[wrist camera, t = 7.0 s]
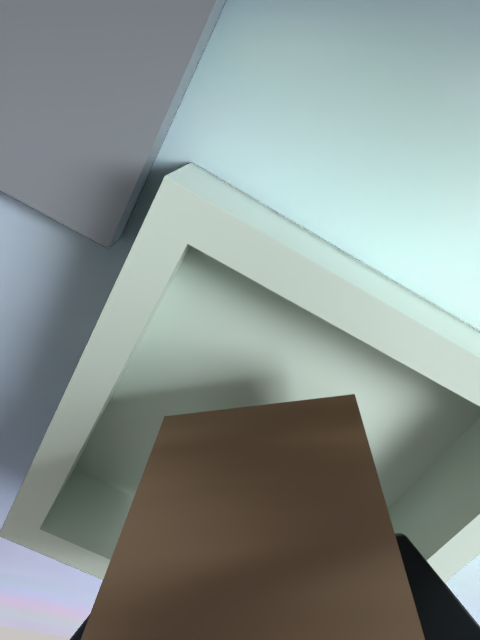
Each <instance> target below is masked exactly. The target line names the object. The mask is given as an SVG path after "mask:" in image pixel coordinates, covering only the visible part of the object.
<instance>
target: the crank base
mask: <svg viewBox="0 0 480 640" xmlns="http://www.w3.org/2000/svg"><path fill="white" fill-rule="evenodd" d="M225 2H226V0H0V191H2V192H4V193H6V194H8V195H9V196H11V197H13V198H15V199H17V200H19V201H20V202H22V203H24V204H26V205H28V206H30V207H32V208H33V209H35V210H37V211H39V212H41V213H43V214H45V215H46V216H48V217H50V218H52V219H54V220H56V221H57V222H59V223H61V224H63V225H65V226H67V227H69V228H70V229H72V230H74V231H76V232H78V233H80V234H82V235H83V236H85V237H87V238H89V239H91V240H93V241H95V242H96V243H98V244H100V245H102V246H104V247H106V248H107V249H108V248H109V247H110V246H111V245H113V244H114V243H115V242H117V241H118V240H119V239H120V237H121V235H122V233H123V230H124V228H125V226H126V224H127V221H128V219H129V217H130V215H131V213H132V210H133V208H134V206H135V204H136V201H137V199H138V197H139V195H140V192H141V190H142V188H143V186H144V183H145V181H146V179H147V177H148V174H149V172H150V170H151V168H152V165H153V163H154V161H155V159H156V157H157V154H158V152H159V150H160V148H161V145H162V143H163V141H164V139H165V136H166V134H167V132H168V130H169V127H170V125H171V123H172V121H173V118H174V116H175V114H176V112H177V110H178V107H179V105H180V103H181V101H182V98H183V96H184V94H185V92H186V89H187V87H188V85H189V83H190V80H191V78H192V76H193V74H194V71H195V69H196V67H197V65H198V62H199V60H200V58H201V56H202V54H203V51H204V49H205V47H206V45H207V42H208V40H209V38H210V36H211V33H212V31H213V29H214V27H215V24H216V22H217V20H218V18H219V15H220V13H221V11H222V9H223V7H224V4H225Z"/></svg>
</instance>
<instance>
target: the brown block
mask: <svg viewBox="0 0 480 640" xmlns="http://www.w3.org/2000/svg"><path fill="white" fill-rule="evenodd" d="M81 640H425V638H424V634H423V631H422V627H421V624H420V620H419V617H418V613H417V610H416V606H415V603H414V599H413V596H412V592H411V589H410V585H409V582H408V578H407V575H406V571H405V568H404V564H403V561H402V557H401V554H400V550H399V547H398V543H397V540H396V536H395V533H394V530H393V526H392V523H391V519H390V516H389V512H388V509H387V505H386V502H385V498H384V495H383V491H382V488H381V484H380V481H379V477H378V474H377V470H376V467H375V463H374V460H373V456H372V453H371V449H370V446H369V442H368V439H367V435H366V432H365V428H364V425H363V421H362V418H361V414H360V411H359V407H358V404H357V400H356V397H355V394H351V395H342V396H334V397H325V398H316V399H308V400H299V401H291V402H282V403H274V404H265V405H257V406H248V407H240V408H231V409H222V410H214V411H205V412H197V413H188V414H180V415H171V416H164V419H163V422H162V424H161V427H160V430H159V432H158V435H157V438H156V440H155V443H154V446H153V448H152V451H151V454H150V456H149V459H148V462H147V464H146V467H145V470H144V472H143V475H142V478H141V480H140V483H139V486H138V488H137V491H136V494H135V496H134V499H133V502H132V504H131V507H130V510H129V512H128V515H127V518H126V520H125V523H124V526H123V528H122V531H121V534H120V536H119V539H118V542H117V544H116V547H115V550H114V552H113V555H112V558H111V560H110V563H109V566H108V568H107V571H106V574H105V576H104V579H103V582H102V584H101V587H100V590H99V592H98V595H97V598H96V600H95V603H94V606H93V608H92V611H91V614H90V616H89V619H88V622H87V624H86V627H85V630H84V632H83V635H82V638H81Z"/></svg>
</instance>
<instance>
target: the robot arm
mask: <svg viewBox="0 0 480 640" xmlns="http://www.w3.org/2000/svg"><path fill="white" fill-rule="evenodd" d="M395 536H396V540H397V543H398V547H399V550H400V554H401V557H402V561H403V564H404V568H405V571H406V575H407V578H408V582H409V585H410V589H411V592H412V596H413V599H414V603H415V606H416V610H417V613H418V617H419V620H420V624H421V627H422V631H423V634H424V638H425V640H480V626H479V625H478V624H477V622H476V621H475V620H474V619H473V617H472V616H471V615H470V614H469V612H468V611H467V610H466V609H465V607H464V606H463V605H462V604H461V603H460V601H459V600H458V599H457V598H456V596H455V595H454V594H453V593H452V591H451V590H450V589H449V588H448V587H447V585H446V584H445V583H444V582H443V580H442V579H441V578H440V577H439V575H438V574H437V573H436V572H435V570H434V569H433V568H432V567H431V566H430V564H429V563H428V562H427V561H426V559H425V558H424V557H423V556H422V554H421V553H420V552H419V551H418V550H417V548H416V547H415V546H414V545H413V543H412V542H411V541H410V540H409V538H408V537H407V536H406V535H405V534H403V533H395ZM90 614H91V613H90ZM89 616H90V615H89ZM89 616H88V617H87V619H86V620H85V621H84V622H83V624H82V625H81V626H80V627H79V629H78V630H77V631H76V632H75V634H74V635H73V636H72V638H71V639H70V640H81V638H82V635H83V632H84V630H85V627H86V624H87V622H88V619H89Z"/></svg>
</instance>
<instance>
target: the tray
mask: <svg viewBox="0 0 480 640" xmlns="http://www.w3.org/2000/svg"><path fill="white" fill-rule="evenodd" d="M351 394H355V397H356V400H357V404H358V407H359V411H360V414H361V418H362V421H363V425H364V428H365V432H366V435H367V439H368V442H369V446H370V449H371V453H372V456H373V460H374V463H375V467H376V470H377V474H378V477H379V481H380V484H381V488H382V491H383V495H384V498H385V502H386V505H387V509H388V512H389V516H390V519H391V523H392V526H393V530H394V533H403V534H405V535H406V536H407V537H408V538H409V540H410V541H411V542H412V543H413V545H414V546H415V547H416V548H417V550H418V551H419V552H420V553H421V554H422V556H423V557H424V558H425V559H426V561H427V562H428V563H429V564H430V566H431V567H432V568H433V569H434V570H435V572H436V573H437V574H438V575H439V577H440V578H441V579H442V580H443V582H444V583H445V582H446V581H448V580H449V579H450V578H451V577H452V576H454V575H455V574H456V573H457V572H458V571H460V570H461V569H462V568H463V567H464V566H466V565H467V564H468V563H469V562H470V561H472V560H473V559H474V558H475V557H477V556H478V555H479V554H480V331H478V330H476V329H475V328H473V327H471V326H470V325H468V324H466V323H465V322H463V321H461V320H459V319H458V318H456V317H454V316H453V315H451V314H449V313H448V312H446V311H444V310H442V309H441V308H439V307H437V306H436V305H434V304H432V303H431V302H429V301H427V300H425V299H424V298H422V297H420V296H419V295H417V294H415V293H413V292H412V291H410V290H408V289H407V288H405V287H403V286H402V285H400V284H398V283H396V282H395V281H393V280H391V279H390V278H388V277H386V276H385V275H383V274H381V273H379V272H378V271H376V270H374V269H373V268H371V267H369V266H368V265H366V264H364V263H362V262H361V261H359V260H357V259H356V258H354V257H352V256H351V255H349V254H347V253H345V252H344V251H342V250H340V249H339V248H337V247H335V246H333V245H332V244H330V243H328V242H327V241H325V240H323V239H322V238H320V237H318V236H316V235H315V234H313V233H311V232H310V231H308V230H306V229H305V228H303V227H301V226H299V225H298V224H296V223H294V222H293V221H291V220H289V219H288V218H286V217H284V216H282V215H281V214H279V213H277V212H276V211H274V210H272V209H270V208H269V207H267V206H265V205H264V204H262V203H260V202H259V201H257V200H255V199H253V198H252V197H250V196H248V195H247V194H245V193H243V192H242V191H240V190H238V189H236V188H235V187H233V186H231V185H230V184H228V183H226V182H225V181H223V180H221V179H219V178H218V177H216V176H214V175H213V174H211V173H209V172H208V171H206V170H204V169H202V168H201V167H199V166H197V165H196V164H194V163H192V162H191V163H189V164H187V165H185V166H183V167H181V168H179V169H177V170H175V171H173V172H171V173H169V174H168V175H166V176H165V177H164V179H163V181H162V183H161V185H160V187H159V190H158V192H157V194H156V196H155V198H154V200H153V203H152V205H151V207H150V209H149V211H148V213H147V215H146V218H145V220H144V222H143V224H142V226H141V228H140V231H139V233H138V235H137V237H136V239H135V241H134V244H133V246H132V248H131V250H130V252H129V254H128V257H127V259H126V261H125V263H124V265H123V267H122V269H121V272H120V274H119V276H118V278H117V280H116V282H115V285H114V287H113V289H112V291H111V293H110V295H109V298H108V300H107V302H106V304H105V306H104V308H103V311H102V313H101V315H100V317H99V319H98V321H97V323H96V326H95V328H94V330H93V332H92V334H91V336H90V339H89V341H88V343H87V345H86V347H85V349H84V352H83V354H82V356H81V358H80V360H79V362H78V365H77V367H76V369H75V371H74V373H73V375H72V377H71V380H70V382H69V384H68V386H67V388H66V390H65V393H64V395H63V397H62V399H61V401H60V403H59V406H58V408H57V410H56V412H55V414H54V416H53V419H52V421H51V423H50V425H49V427H48V429H47V431H46V434H45V436H44V438H43V440H42V442H41V444H40V447H39V449H38V451H37V453H36V455H35V457H34V460H33V462H32V464H31V466H30V468H29V470H28V473H27V475H26V477H25V479H24V481H23V483H22V485H21V488H20V490H19V492H18V494H17V496H16V498H15V501H14V503H13V505H12V507H11V509H10V511H9V514H8V516H7V518H6V520H5V522H4V524H3V527H2V529H1V531H0V537H3V538H5V539H7V540H10V541H12V542H15V543H17V544H19V545H22V546H24V547H26V548H29V549H31V550H33V551H36V552H38V553H41V554H43V555H45V556H48V557H50V558H52V559H55V560H57V561H59V562H62V563H64V564H66V565H69V566H71V567H74V568H76V569H78V570H81V571H83V572H85V573H88V574H90V575H92V576H95V577H97V578H100V579H102V580H103V579H104V576H105V574H106V571H107V568H108V566H109V563H110V560H111V558H112V555H113V552H114V550H115V547H116V544H117V542H118V539H119V536H120V534H121V531H122V528H123V526H124V523H125V520H126V518H127V515H128V512H129V510H130V507H131V504H132V502H133V499H134V496H135V494H136V491H137V488H138V486H139V483H140V480H141V478H142V475H143V472H144V470H145V467H146V464H147V462H148V459H149V456H150V454H151V451H152V448H153V446H154V443H155V440H156V438H157V435H158V432H159V430H160V427H161V424H162V422H163V419H164V416H171V415H180V414H188V413H197V412H205V411H214V410H222V409H231V408H240V407H248V406H257V405H265V404H274V403H282V402H291V401H299V400H308V399H316V398H325V397H334V396H342V395H351Z"/></svg>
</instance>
